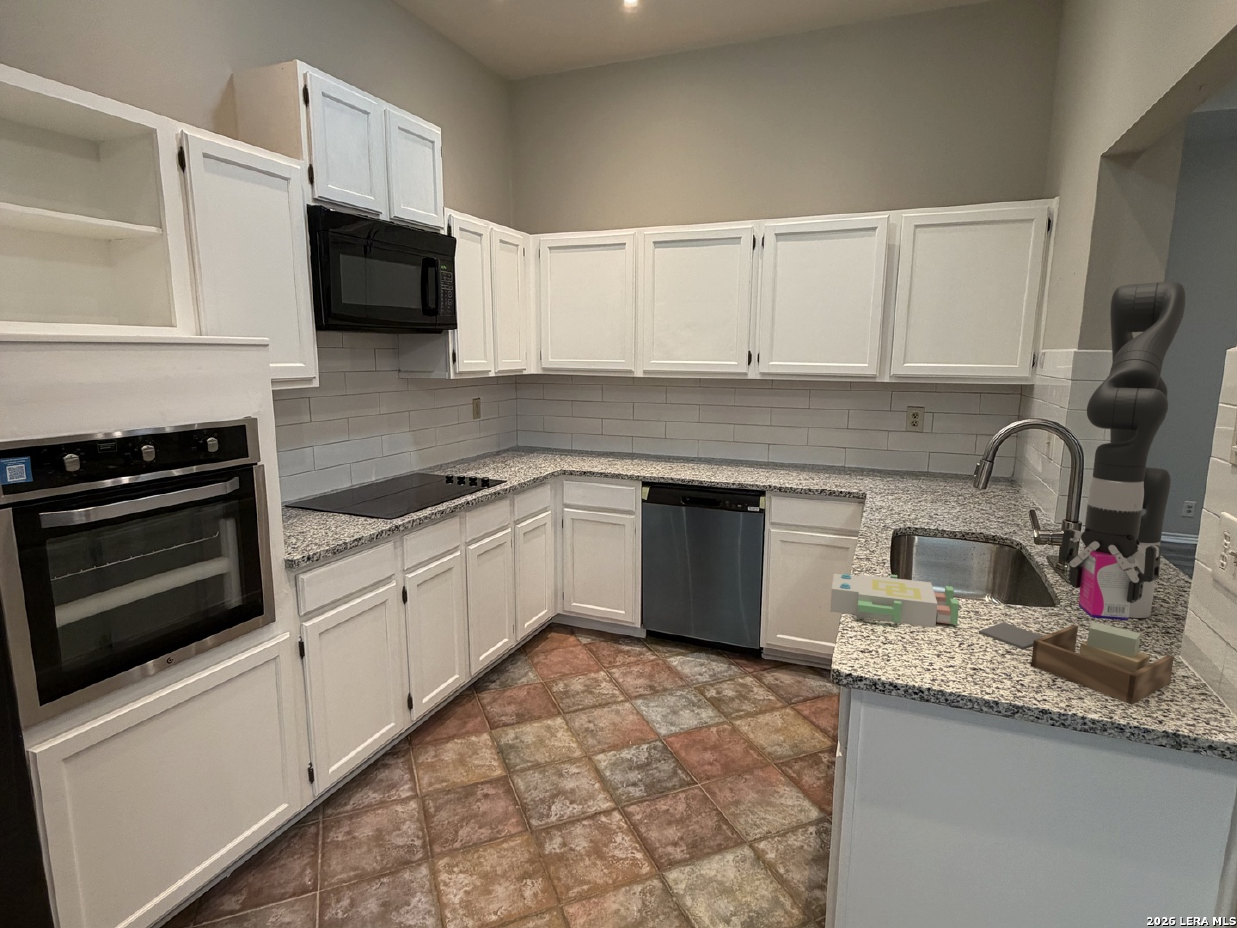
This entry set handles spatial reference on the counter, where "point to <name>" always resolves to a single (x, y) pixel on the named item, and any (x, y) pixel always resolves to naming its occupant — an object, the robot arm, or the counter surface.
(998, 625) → the mat
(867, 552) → the counter surface
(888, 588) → the decorative block
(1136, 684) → the rack
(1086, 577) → the supplement box
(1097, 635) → the offcut top
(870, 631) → the counter surface
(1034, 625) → the counter surface
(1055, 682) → the counter surface
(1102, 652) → the offcut low
